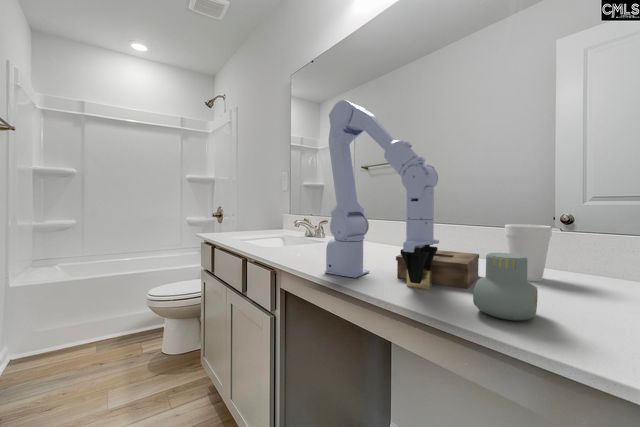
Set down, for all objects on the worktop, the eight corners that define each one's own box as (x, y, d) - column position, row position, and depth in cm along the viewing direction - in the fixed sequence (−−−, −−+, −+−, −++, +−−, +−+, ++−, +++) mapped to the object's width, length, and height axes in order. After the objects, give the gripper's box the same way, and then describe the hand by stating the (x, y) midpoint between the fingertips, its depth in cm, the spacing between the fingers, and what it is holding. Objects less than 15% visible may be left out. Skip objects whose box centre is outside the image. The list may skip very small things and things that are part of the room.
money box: (395, 278, 74) (395, 256, 74) (417, 267, 87) (417, 248, 87) (466, 289, 65) (467, 264, 65) (478, 275, 78) (479, 253, 77)
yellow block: (406, 286, 68) (406, 268, 68) (409, 284, 69) (409, 267, 69) (429, 290, 65) (429, 271, 65) (431, 288, 66) (431, 270, 66)
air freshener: (484, 301, 57) (485, 249, 57) (537, 311, 52) (539, 253, 52) (470, 318, 49) (471, 257, 48) (532, 332, 44) (533, 263, 43)
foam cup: (535, 273, 79) (536, 224, 79) (559, 283, 70) (561, 227, 69) (497, 273, 80) (498, 224, 80) (516, 282, 71) (517, 227, 70)
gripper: (428, 221, 58) (427, 291, 59) (447, 218, 70) (446, 276, 70) (393, 220, 62) (393, 285, 63) (416, 217, 74) (416, 272, 74)
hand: (419, 280), depth 67 cm, fingers open, 4 cm apart
